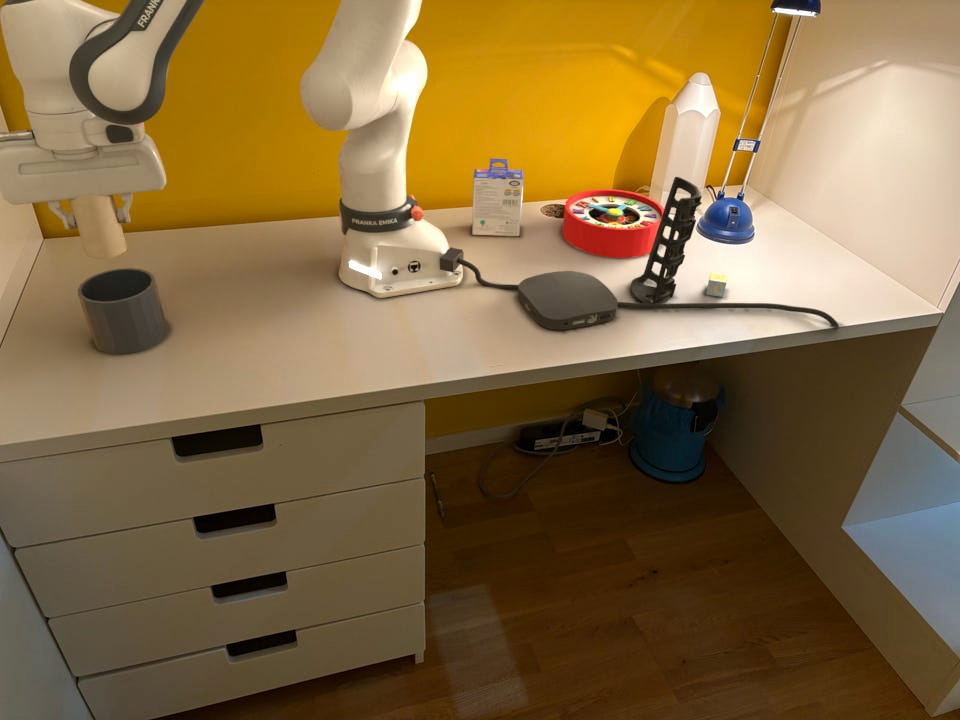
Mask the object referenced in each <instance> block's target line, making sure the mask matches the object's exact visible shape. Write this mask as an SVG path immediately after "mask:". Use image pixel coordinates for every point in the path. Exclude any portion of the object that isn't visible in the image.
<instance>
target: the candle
mask: <svg viewBox="0 0 960 720" xmlns="http://www.w3.org/2000/svg"><path fill="white" fill-rule="evenodd" d="M68 202H69V205H70V208H71V211H72V213H73V215H74V218H75V221H76V224H77V227H78V228H77V231H78V235H79V237H80V241H81V243H82V247H83V250H84V253H85V255H86V256H87V257H89V258H91V259H96V260H97V259H98V260H102V259H110V258H114V257H117V256H120V255H122V254H123V253H124V252H126V251H127V242H126V238H125V234H124V230H123V227H122V223H121V224H119V221H118V218H117V214H116V212H117V208H118V207H117V206H116V202H115V197H114V195H108V196H98V195H82V196H80V197H78V198H76V199H68Z"/></svg>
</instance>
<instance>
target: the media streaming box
mask: <svg viewBox="0 0 960 720" xmlns="http://www.w3.org/2000/svg"><path fill="white" fill-rule="evenodd" d="M518 285H519V286H518V290H517V299H518V301H519V302H520V303H521V305H522V306H523V307H524V309H525V310H526V311H527V313H528V314H529V315H530V316H531V317H532V318H533V319H534V320H535V321H536V322H537V323H538V324H539V325H540V326H542V327H544V328H547V329H551V330H557V331H558V330H559V331H561V330H569V329H575V328H576V329H577V328H581V327H587V326H591V325H595V324H596V325H597V324H601V323H606V322H609V321H612V320H613V319H615V317H616V316H617V312H618V307H617V306H618V302H619V301H618V299H617V297H616V296H615V294H614V292H612V290H610V289H609V287H607V286H606V284H605V283H603V282H602V281H601V280H600V279H598V278H597V277H595V276H593V275H592V274H589V273H586V272H580V271H575V270H559V271H558V270H557V271H551V272H545V273H539V274H536V275H533V276H530V277H526V278H524V279H523V280H522V281H520V282H519V284H518Z"/></svg>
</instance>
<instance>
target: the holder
mask: <svg viewBox="0 0 960 720" xmlns="http://www.w3.org/2000/svg"><path fill="white" fill-rule="evenodd" d="M679 189H681V190H683V191H685V192H687V193H688V194H690V197H682V198H679V200H678V199H676V195H677V192H678V190H679ZM701 193H702V192H701V190H700V189H699V188H698V186H696V185H695V184H694V183H692V182H690V181H688V180H686V179H684V178H683V177H680V176H675V177H674V179H673V180H672V183H671V187H670V190H669V194H668V195H667V199H666V202H665V205H664V207H663V208H664V211H663V215H662V218H661V221H660V224H659V227H658V230H657V233H656V236H655V240H654V243H653V246H652V249H651V252H650V253H649V254H648V255H649V256H648V259H647V262H646V265H645V269H644V272H643V273H642V274H641V275H640V276H637V277H636V278H633V279H632V280H631V282H630V286H629V290H630V294H631V295H632V297H633V298H634V299H635V300H636V301H637V303H652V304H655V303H666V302H668V300H669V299H672V298H673V296H674V294H675V291H676V287H677V284H676V283H675V282H676V280H675V278H674V277H676V275H677V273H678V270H679V268H680V266H681V265H683V263H684V262H685V261H684V260H685V257H686V254H684V253H685V251H684V250H685V247H686V244H687V242H689V241H690V240H691V237H692V235H693V233H694V229H695V226H696V223H697V219H696V216H695V215H696V211H697V208H698V207H699V206H702V204H703V202H701V199H702V198H703V196H702V194H701ZM672 208H674V209H675V211H674V212H675V213H674V216H673V218H671V217H670V214H671V210H672ZM666 227H667V228H668V227H669V228H670V231H669V233H668V234H669V235H668V238H667V237H665V236H664V232H665V229H666ZM676 232H677V234H678V235H677V238H676V239H675V236H676ZM659 245H660V246H664V247H665V251H664V254H663V256H661V255H660V254H659V253H658V251H659V249H660V246H659ZM655 263H658V264H659V265H661V266H660V270H659V274H657V273H656V272H654V271H653V267H654V264H655ZM648 280H650V281H652V282H654V283H655V284H656V286H651V285H646V284H644V283H645V282H647V281H648ZM649 298H653V299H652V300H650V299H649Z"/></svg>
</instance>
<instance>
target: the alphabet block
mask: <svg viewBox="0 0 960 720" xmlns="http://www.w3.org/2000/svg"><path fill="white" fill-rule="evenodd" d="M728 276H729V275H727V274H721V273H715V272H710V274H709V278H708V281H707V286H706V293H705V294H706V295H708V296H713V297H720V298H723V297H724V295H725V291H726V286H727V281H728Z"/></svg>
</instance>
